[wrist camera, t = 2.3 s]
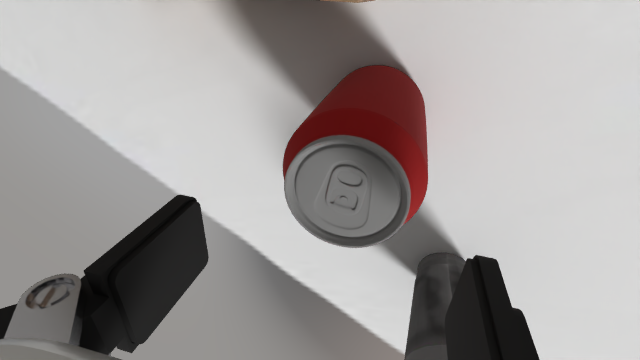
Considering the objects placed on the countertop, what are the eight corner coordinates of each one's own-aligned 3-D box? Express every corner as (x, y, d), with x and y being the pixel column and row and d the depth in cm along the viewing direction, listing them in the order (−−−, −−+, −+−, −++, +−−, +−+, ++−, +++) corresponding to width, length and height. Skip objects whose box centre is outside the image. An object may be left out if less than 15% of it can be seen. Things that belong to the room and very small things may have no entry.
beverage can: (324, 139, 26) (262, 233, 16) (342, 51, 22) (277, 100, 12) (407, 163, 25) (398, 278, 15) (440, 76, 21) (458, 150, 11)
